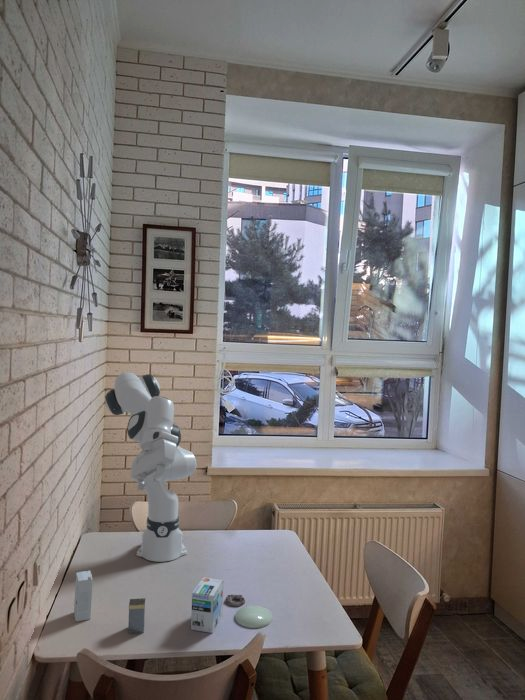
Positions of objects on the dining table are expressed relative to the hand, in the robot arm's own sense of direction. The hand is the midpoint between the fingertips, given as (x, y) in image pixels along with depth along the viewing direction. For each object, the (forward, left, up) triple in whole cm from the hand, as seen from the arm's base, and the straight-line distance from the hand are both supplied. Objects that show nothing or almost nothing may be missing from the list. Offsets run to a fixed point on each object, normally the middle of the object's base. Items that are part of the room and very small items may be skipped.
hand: (148, 485), depth 158 cm
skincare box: (+1, -18, -38) cm, 42 cm away
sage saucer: (+7, +32, -39) cm, 51 cm away
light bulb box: (+8, +18, -38) cm, 43 cm away
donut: (-3, +27, -39) cm, 48 cm away
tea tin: (+10, -2, -38) cm, 39 cm away
